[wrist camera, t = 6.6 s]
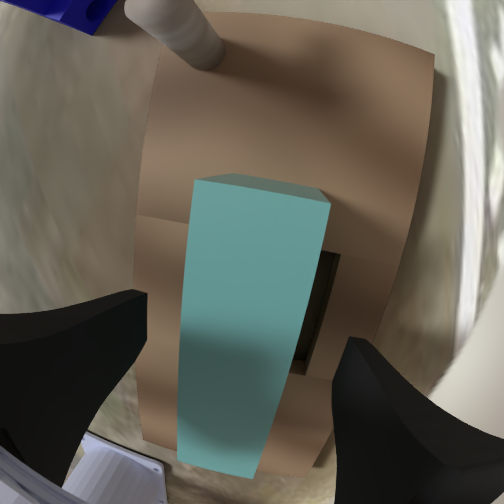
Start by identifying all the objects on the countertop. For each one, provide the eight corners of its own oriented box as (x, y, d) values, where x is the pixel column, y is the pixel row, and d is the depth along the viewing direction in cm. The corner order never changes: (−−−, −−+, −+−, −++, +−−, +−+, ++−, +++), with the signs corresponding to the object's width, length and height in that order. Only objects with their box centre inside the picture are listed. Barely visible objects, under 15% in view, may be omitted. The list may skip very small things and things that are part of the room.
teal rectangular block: (265, 409, 14) (252, 478, 10) (204, 395, 15) (177, 460, 10) (318, 188, 11) (331, 203, 7) (233, 172, 11) (194, 179, 7)
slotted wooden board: (305, 464, 17) (301, 539, 11) (149, 428, 18) (113, 493, 12) (424, 51, 10) (494, -5, 4) (182, 13, 11) (117, -54, 5)
